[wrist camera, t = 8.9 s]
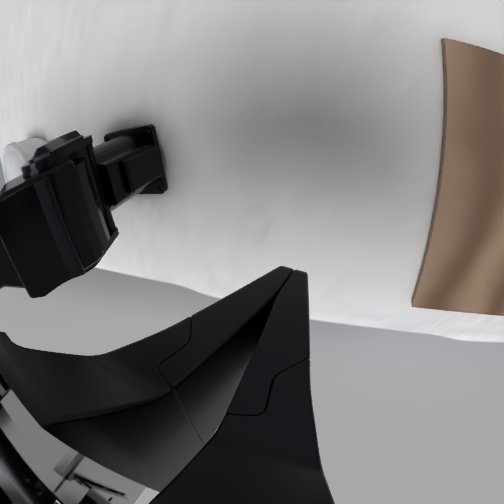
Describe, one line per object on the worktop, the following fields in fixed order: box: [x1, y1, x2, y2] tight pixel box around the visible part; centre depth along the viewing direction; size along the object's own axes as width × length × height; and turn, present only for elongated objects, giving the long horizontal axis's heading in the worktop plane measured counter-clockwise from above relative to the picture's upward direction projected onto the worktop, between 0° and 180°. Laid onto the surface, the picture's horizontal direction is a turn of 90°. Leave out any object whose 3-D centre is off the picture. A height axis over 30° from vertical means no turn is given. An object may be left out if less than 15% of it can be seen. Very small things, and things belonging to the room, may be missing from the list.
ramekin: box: [2, 138, 48, 183], centre depth 29 cm, size 11×11×5 cm
